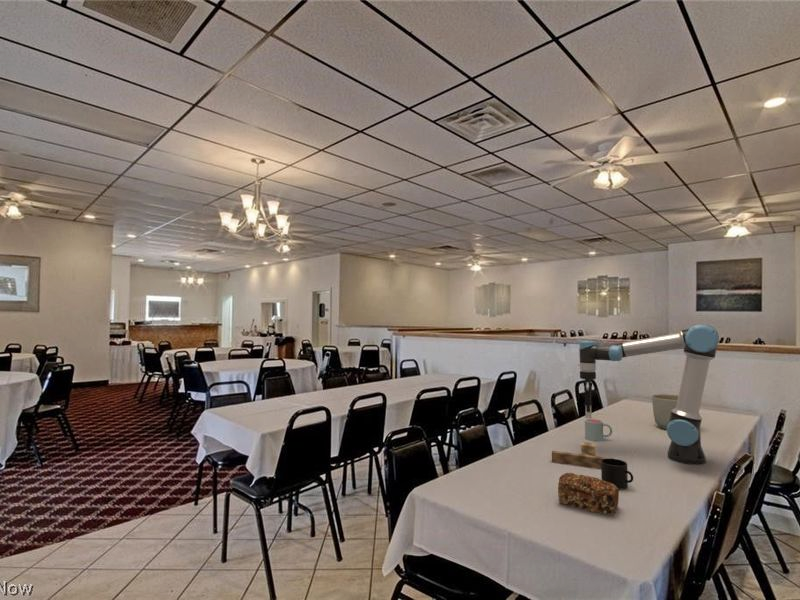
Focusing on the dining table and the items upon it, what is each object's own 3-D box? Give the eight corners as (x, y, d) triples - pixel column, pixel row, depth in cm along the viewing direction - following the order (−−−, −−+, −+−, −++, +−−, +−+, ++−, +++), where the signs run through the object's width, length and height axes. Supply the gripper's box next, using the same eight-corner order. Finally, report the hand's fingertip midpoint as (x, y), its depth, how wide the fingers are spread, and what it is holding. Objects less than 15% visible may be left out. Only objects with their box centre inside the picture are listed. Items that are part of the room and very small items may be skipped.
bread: (557, 504, 156) (556, 476, 156) (565, 494, 164) (565, 467, 165) (614, 518, 144) (613, 488, 145) (620, 507, 153) (619, 478, 154)
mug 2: (627, 493, 165) (627, 469, 165) (597, 484, 174) (596, 461, 174) (638, 487, 171) (638, 464, 171) (608, 478, 180) (608, 456, 180)
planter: (692, 427, 264) (692, 396, 265) (694, 435, 247) (693, 401, 248) (653, 423, 276) (652, 393, 276) (652, 430, 258) (651, 398, 259)
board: (614, 468, 192) (613, 457, 192) (614, 470, 189) (614, 459, 190) (552, 460, 203) (552, 450, 204) (551, 462, 201) (551, 452, 201)
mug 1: (585, 440, 236) (585, 422, 237) (584, 436, 245) (584, 418, 245) (613, 443, 231) (612, 424, 232) (611, 438, 240) (611, 420, 240)
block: (595, 455, 210) (595, 443, 211) (595, 459, 205) (594, 446, 205) (581, 454, 213) (581, 441, 213) (581, 457, 208) (581, 444, 208)
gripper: (580, 369, 227) (581, 414, 226) (579, 372, 215) (579, 419, 214) (596, 370, 224) (596, 416, 223) (595, 372, 212) (596, 421, 211)
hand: (588, 417), depth 219 cm, fingers closed
